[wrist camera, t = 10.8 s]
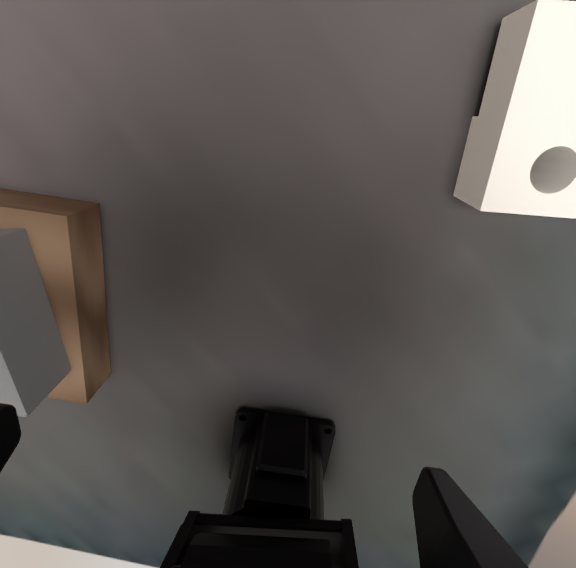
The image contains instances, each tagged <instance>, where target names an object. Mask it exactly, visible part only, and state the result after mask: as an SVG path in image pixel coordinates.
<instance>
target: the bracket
mask: <svg viewBox="0 0 576 568" xmlns="http://www.w3.org/2000/svg"><path fill="white" fill-rule="evenodd" d="M453 196H455V197H456V198H458V199H460V200H462V201H463V202H465V203H467V204H469V205H470V206H472V207H474V208H476V209H477V210H479V211H486V212H499V213H512V214H524V215H537V216H550V217H562V218H575V219H576V1H561V0H536V1H534V2H532V3H530V4H528V5H526V6H524V7H523V8H521V9H519V10H517V11H515V12H513V13H511V14H509V15H507V16H505V17H504V18H503V19H502V23H501V27H500V31H499V35H498V39H497V43H496V47H495V51H494V55H493V59H492V63H491V67H490V71H489V75H488V79H487V83H486V87H485V91H484V95H483V100H482V104H481V108H480V112H479V116H472V120H471V124H470V128H469V133H468V137H467V141H466V145H465V149H464V153H463V157H462V161H461V165H460V170H459V174H458V178H457V182H456V186H455V190H454V194H453Z"/></svg>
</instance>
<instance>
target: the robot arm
mask: <svg viewBox="0 0 576 568" xmlns="http://www.w3.org/2000/svg"><path fill="white" fill-rule="evenodd" d="M241 415H244V416H246V417H243V416H241ZM326 428H329V429H326ZM334 436H335V424H334V423H333V422H331V421H327V420H321V419H314V418H307V417H301V416H294V415H288V414H281V413H275V412H268V411H262V410H255V409H249V408H240V409H238V410H237V412H236V415H235V423H234V432H233V442H232V452H231V461H230V471H229V479H230V485H229V489H228V493H227V498H226V502H225V506H224V511H223V514H208V513H200V511H189V512H188V514H187V516H186V518H185V520H184V522H183V525H181V526H180V528H179V530H178V532H177V534H176V536H175V538H174V540H173V542H172V545H171V547H170V549H169V551H168V553H167V555H166V557H165V559H164V561H163V563H162V565H161V567H160V568H359V567H358V560H357V553H356V547H355V540H354V533H353V527H352V520H351V519H341V521H337V520H324V503H323V479H324V475H325V472H326V468H327V464H328V460H329V456H330V452H331V448H332V444H333V440H334ZM20 437H21V429H20V424H19V420H18V415H17V411H16V408H15V407H14V406H13V405H10V404H3V403H0V472H1V471H2V469H3V467H4V466H5V464H6V462H7V461H8V459H9V458H10V456H11V454H12V453H13V451H14V450H15V448H16V446H17V445H18V443H19V440H20ZM413 510H414V519H415V527H416V535H417V544H418V552H419V560H420V568H528V566H527V565H526V564H525V563H524V562H523V561H522V559H521V558H520V557H519V556H518V555H517V554H516V552H515V551H514V550H513V549H512V548H511V547H510V545H509V544H508V543H507V542H506V541H505V540H504V538H503V537H502V536H501V535H500V534H499V533H498V532H497V530H496V529H495V528H494V527H493V526H492V525H491V523H490V522H489V521H488V520H487V519H486V518H485V516H484V515H483V514H482V513H481V512H480V511H479V509H478V508H477V507H476V506H475V505H474V504H473V503H472V501H471V500H470V499H469V498H468V497H467V496H466V494H465V493H464V492H463V491H462V490H461V489H460V487H459V486H458V485H457V484H456V483H455V482H454V480H453V479H452V478H451V477H450V476H449V475H448V474H447V472H446V471H444V470H443V469H440V468H433V467H424V468H423V469H422V471H421V473H420V476H419V478H418V481H417V483H416V486H415V488H414V491H413Z"/></svg>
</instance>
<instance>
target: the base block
mask: <svg viewBox="0 0 576 568" xmlns="http://www.w3.org/2000/svg"><path fill="white" fill-rule="evenodd" d="M2 228H25V230H26V233H27V236H28V239H29V242H30V245H31V248H32V251H33V254H34V257H35V260H36V263H37V266H38V269H39V272H40V275H41V278H42V281H43V284H44V287H45V290H46V293H47V297H48V300H49V303H50V306H51V309H52V312H53V315H54V318H55V321H56V324H57V327H58V330H59V333H60V336H61V339H62V342H63V345H64V348H65V351H66V354H67V357H68V360H69V363H70V366H71V369H72V370H71V371H70V372H69V374H68V375H67V376H66V377H65V378H64V379H63V380H62V381H61V382H60V383H59V384H58V385H57V386H56V387H55V388H54V389H53V390H52V391H51V392H50V393H49V394H48V395H47V398H53V399H60V400H66V401H73V402H80V403H86V404H87V403H88V402H89V400H90V399H91V398H92V397H93V395H94V394H95V393H96V391H97V390H98V389H99V388H100V386H101V385H102V384H103V383H104V381H105V380H106V379H107V378H108V376H109V375H110V374H111V366H110V352H109V338H108V324H107V309H106V295H105V281H104V267H103V253H102V239H101V225H100V211H99V203H93V202H86V201H80V200H73V199H66V198H60V197H53V196H46V195H40V194H33V193H27V192H20V191H13V190H7V189H0V229H2Z"/></svg>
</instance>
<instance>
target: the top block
mask: <svg viewBox="0 0 576 568" xmlns="http://www.w3.org/2000/svg"><path fill="white" fill-rule="evenodd" d="M71 370H72V369H71V366H70V363H69V360H68V357H67V354H66V351H65V348H64V345H63V342H62V339H61V336H60V333H59V330H58V327H57V324H56V321H55V318H54V315H53V312H52V309H51V306H50V303H49V300H48V297H47V293H46V290H45V287H44V284H43V281H42V278H41V275H40V272H39V269H38V266H37V263H36V260H35V257H34V254H33V251H32V248H31V245H30V242H29V239H28V236H27V233H26V230H25V228H2V229H0V403H3V404H10V405H13V406H14V407H15V408H16V411H17V415H18V416H28V415H29V414H30V413H31V412H32V411H33V410H34V409H35V408H36V407H37V406H38V405H39V404H40V403H41V402H42V401H43V400H44V399H45V398H46V397H47V395H48V394H49V393H50V392H51V391H52V390H53V389H54V388H55V387H56V386H57V385H58V384H59V383H60V382H61V381H62V380H63V379H64V378H65V377H66V376H67V375H68V374H69V372H70V371H71Z"/></svg>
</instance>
